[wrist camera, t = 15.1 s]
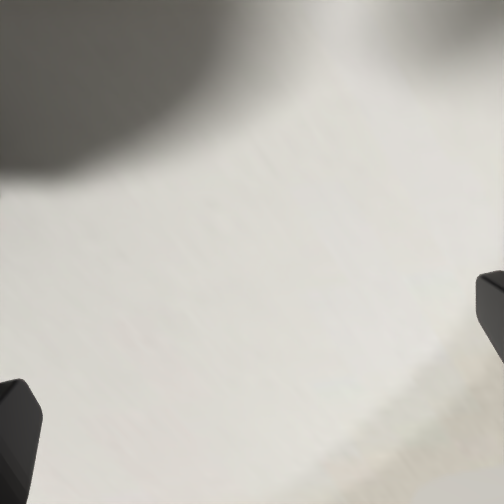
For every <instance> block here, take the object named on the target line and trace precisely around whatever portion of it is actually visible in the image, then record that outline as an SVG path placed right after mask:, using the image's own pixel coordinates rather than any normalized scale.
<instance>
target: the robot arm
mask: <svg viewBox="0 0 504 504" xmlns="http://www.w3.org/2000/svg"><path fill="white" fill-rule="evenodd" d="M476 315H477V318H478V321H479V323H480V325H481V326H482V328H483V330H484V331H485V333H486V335H487V336H488V338H489V340H490V342H491V343H492V345H493V347H494V348H495V350H496V352H497V353H498V355H499V357H500V358H501V360H502V362H503V363H504V271H501V270H498V271H493V272H489V273H484V274H480V275H479V276H478V277H477V279H476ZM42 420H43V414H42V410H41V407H40V405H39V403H38V402H37V400H36V398H35V397H34V395H33V393H32V391H31V390H30V388H29V386H28V384H27V383H26V382H25V381H24V380H23V379H14V380H9V381H5V382H1V383H0V504H26V502H27V499H28V495H29V490H30V486H31V481H32V475H33V470H34V464H35V459H36V454H37V448H38V443H39V437H40V432H41V426H42Z"/></svg>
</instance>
